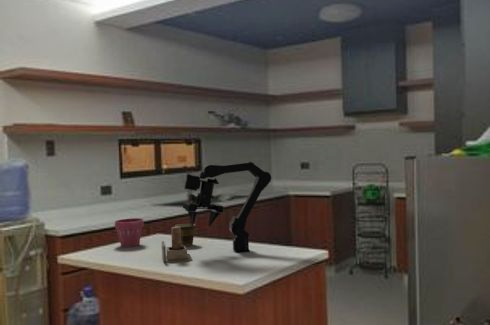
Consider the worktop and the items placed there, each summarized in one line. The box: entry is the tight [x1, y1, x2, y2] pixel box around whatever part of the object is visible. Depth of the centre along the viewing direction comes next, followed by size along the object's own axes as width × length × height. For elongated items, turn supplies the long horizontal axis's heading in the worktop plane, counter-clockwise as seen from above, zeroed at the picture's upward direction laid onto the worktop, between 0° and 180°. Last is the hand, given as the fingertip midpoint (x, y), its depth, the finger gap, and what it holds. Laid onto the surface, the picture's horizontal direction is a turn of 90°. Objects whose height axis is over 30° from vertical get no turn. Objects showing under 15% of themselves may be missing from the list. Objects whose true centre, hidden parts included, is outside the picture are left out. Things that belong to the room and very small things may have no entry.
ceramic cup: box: [174, 223, 196, 247], centre depth 238 cm, size 13×10×10 cm
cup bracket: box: [161, 240, 193, 264], centre depth 208 cm, size 12×12×7 cm
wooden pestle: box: [170, 226, 181, 250], centre depth 208 cm, size 4×4×13 cm
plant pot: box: [114, 217, 145, 248], centre depth 243 cm, size 14×14×13 cm
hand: (200, 225), depth 218 cm, fingers open, 9 cm apart
